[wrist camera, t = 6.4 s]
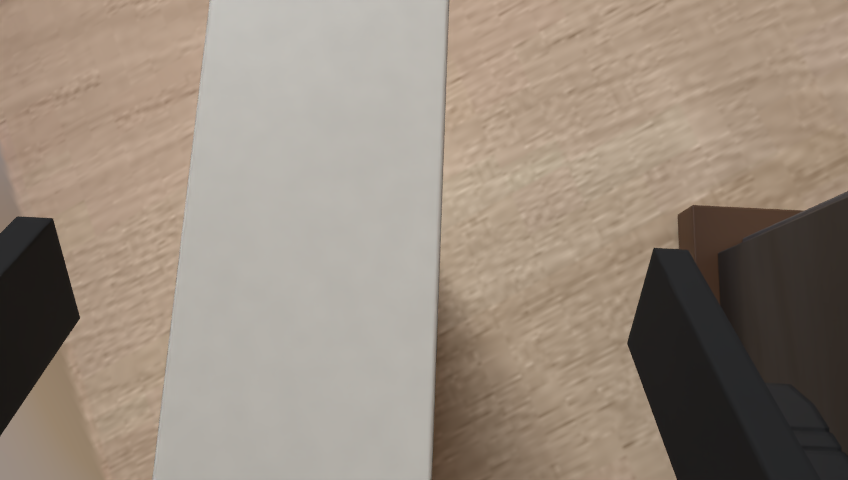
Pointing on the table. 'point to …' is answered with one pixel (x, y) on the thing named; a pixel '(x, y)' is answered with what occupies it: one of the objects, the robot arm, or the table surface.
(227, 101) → the white book
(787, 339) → the grey book row
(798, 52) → the table surface
